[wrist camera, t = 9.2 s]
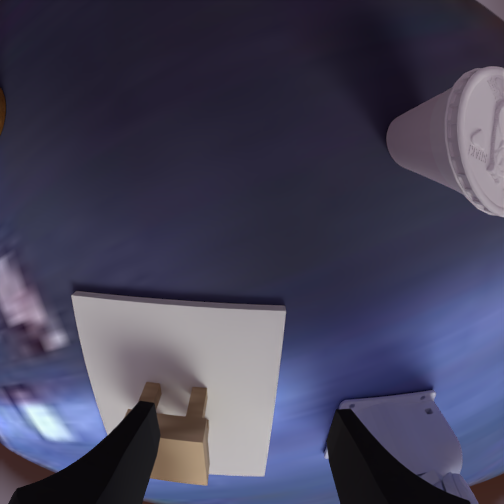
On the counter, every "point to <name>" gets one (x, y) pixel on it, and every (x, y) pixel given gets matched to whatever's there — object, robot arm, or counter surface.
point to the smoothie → (458, 138)
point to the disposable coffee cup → (2, 110)
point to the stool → (181, 439)
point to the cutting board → (188, 366)
